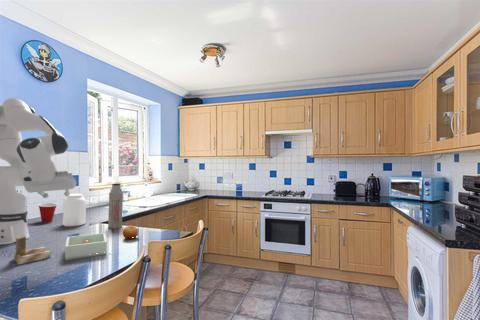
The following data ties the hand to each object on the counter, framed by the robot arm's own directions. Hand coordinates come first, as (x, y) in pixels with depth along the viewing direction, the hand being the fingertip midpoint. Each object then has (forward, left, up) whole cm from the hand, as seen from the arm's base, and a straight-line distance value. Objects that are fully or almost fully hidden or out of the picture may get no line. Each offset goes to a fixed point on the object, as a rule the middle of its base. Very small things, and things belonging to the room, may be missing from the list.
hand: (57, 196), depth 124 cm
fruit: (+34, +4, -26) cm, 43 cm away
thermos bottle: (+29, +34, -26) cm, 52 cm away
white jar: (+6, +52, -26) cm, 59 cm away
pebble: (+14, -5, -23) cm, 27 cm away
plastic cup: (-10, +68, -26) cm, 74 cm away
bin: (+13, -9, -26) cm, 30 cm away
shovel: (-8, -7, -26) cm, 28 cm away
